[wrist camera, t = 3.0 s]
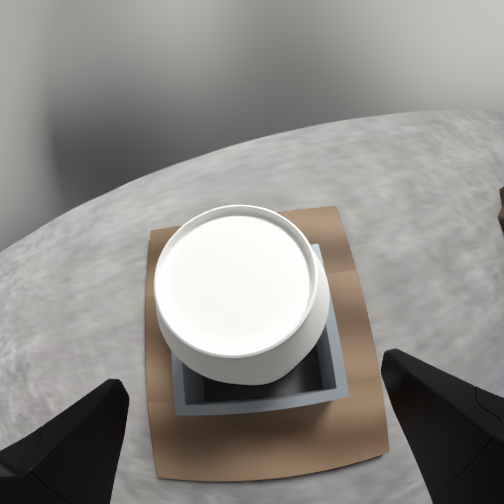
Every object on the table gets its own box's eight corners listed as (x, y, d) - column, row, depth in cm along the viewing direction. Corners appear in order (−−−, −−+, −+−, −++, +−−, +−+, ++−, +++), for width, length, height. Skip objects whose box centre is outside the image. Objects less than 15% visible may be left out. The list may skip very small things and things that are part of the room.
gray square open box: (331, 394, 16) (349, 396, 12) (197, 410, 16) (175, 415, 12) (310, 273, 20) (318, 243, 17) (190, 288, 21) (170, 262, 17)
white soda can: (318, 356, 18) (382, 304, 7) (239, 400, 16) (183, 420, 6) (272, 285, 20) (269, 165, 10) (198, 325, 19) (114, 242, 9)
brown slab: (385, 450, 13) (389, 451, 13) (161, 474, 14) (157, 477, 13) (334, 211, 23) (336, 205, 22) (154, 235, 23) (150, 230, 23)
